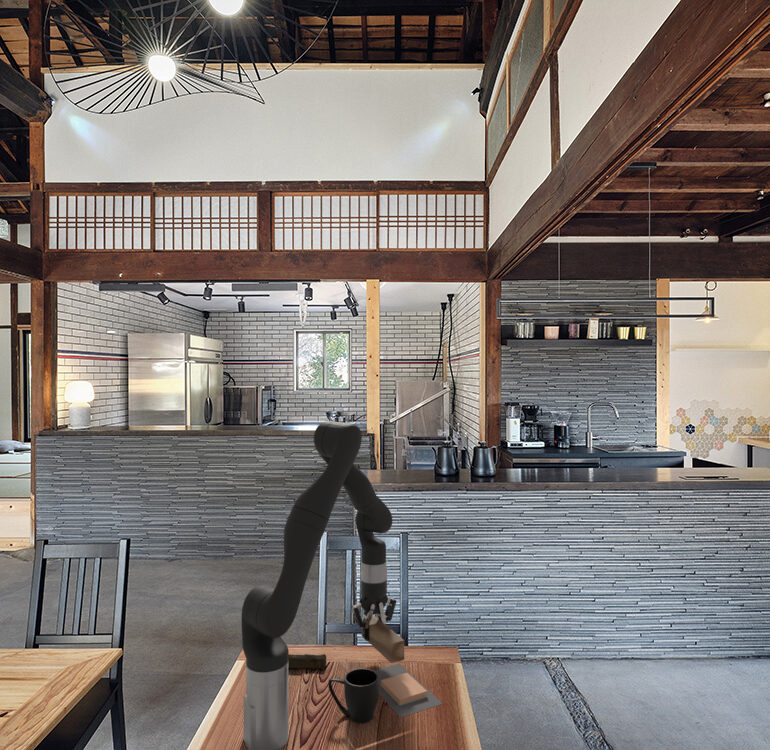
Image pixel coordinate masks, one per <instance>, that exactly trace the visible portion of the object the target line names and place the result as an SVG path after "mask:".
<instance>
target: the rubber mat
mask: <svg viewBox="0 0 770 750" xmlns="http://www.w3.org/2000/svg"><path fill="white" fill-rule="evenodd" d="M373 671H375V672H376V673H377V674H378V676H379V693H378V696H380V697H381V698H382V699H383V700H384V701H385V702H386V703H387V705H388V706H389V707H390V708H391V709H392V710H393V711H394V712H395V713H396V715H397V716H399V717H400V718H403V717H406V716H409V715H412V714H416V713H418V712H422V711H426V710H428V709H431V708H434V707H437V706H440V705H443V704H444V703H443V702H442V701H440V700H439V698H438V697H436V696H435V695H434V693H432V692H431V691H430V690H429V689H428V688H426V687H425V685H424V684H422V683H421V682H420V681H419V680H418V679H417V678H416V677H415V676H414V675H412V673H410V672H409V671H408V670H407V669H406V668H405V667H404V666H403V665H402V664H401V663H396V664H392V665H389V666H385V667H382V668H378V669H373ZM404 673H408V674H409V675H410V676H412V677H413V678H414V679H415V680H416V681H417V682H418V683H419V684H420V685H421V686H422V687H423V688H424V689H426V690H427V698H424V699H421V700H418V701H415V702H412V703H408V704H405V705H402V706H399V705H398V704H397V703H396V702H395V701H394V700H393V699H392V698H391V697H390V696H389V694H388V693H387V692H386V691H385V690H384V689H383V688H382V687H381V680H383V679H387V678H390V677H394V676H397V675H401V674H404Z"/></svg>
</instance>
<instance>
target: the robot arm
mask: <svg viewBox="0 0 770 750" xmlns="http://www.w3.org/2000/svg"><path fill="white" fill-rule="evenodd" d="M362 438H363V435H362V430H361V428H360V427H359V426H358V425H356V424H353V423H347V422H339V421H335V420H334V421H333V420H329V421H328V420H327V421H326V420H325V421H322V422H320V423H319V424H318V425H317V427H316V429H315V431H314V433H313V444H314V448H315V449H316V451H317V453H318V454H319V456H320V458H321V459H323V461H324V462H325V464H326V465H327V466H326V467H325V469H324V470H323V472H322V474H320V476H319V477H318V478H316V479H315V480H314V482H313V483H311V484H310V485H309V486H308V487H306V488H305V490H304V491H303V492H301V494H300V495H299V496H298V497H297V498H296V499H295V501H294V503H293V506H292V508H291V510H290V512H289V514H288V517H287V520H286V522H285V525H284V528H283V565H282V569H281V573H280V575H279V578H278V581H277V583H276V585H275V588H274V587H272V586H268V585H264V584H263V585H257V586H255V587H253V588H252V589H251V590H250V591H249V592H248V593H247V595H245V598H244V600H243V603H242V607H241V638H242V639H241V640H242V641H241V642H242V651H243V653H244V656H245V658H246V659H245V660H246V661H245V663H246V664H245V665H246V668H245V669H246V671H245V676H246V680H245V681H246V682H245V683H246V685H245V686H246V687H245V690H246V691H245V695H244V696H243V735H242V736H243V741H244V743H245V747H246V749H247V750H281V749H282V748H284V747H285V745H286V744H287V742H288V740H289V727H290V726H289V684H290V681H289V673H290V672H289V669H290V668H289V654H290V653H289V647H288V645H287V643H286V642H285V641H284V639H283V638H282V636H284V635H285V634H286V633H287V632H288V631H289V630H290V629H291V627H292V625H293V623H294V621H295V619H296V617H297V613H298V609H299V608H300V603H301V600H302V597H303V593H304V589H305V586H306V582H307V579H308V576H309V573H310V570H311V567H312V564H313V561H314V559H315V555H316V553H317V550H318V549H319V544H320V543H321V540H322V538H323V536H324V533H325V531H326V528H327V525H328V523H329V520H330V517H331V514H332V512H333V509H334V507H335V504H336V503H337V499H338V496H339V494H340V492H341V489H342V487H343V489H344V490H345V491H346V494H347V496H348V498H349V500H350V502H351V504H352V507H353V508H354V509H355V510H356V511H357V512H356V515H355V520H354V522H355V528H356V531H357V535H358V539H359V542H360V546H361V565H360V600H359V603H356V604H351V606H350V610H351V612H352V615H353V619H354V621H355V624H356V625H357V626H358V627H359V628H361V637H362V638H363V640H365V642H368V641H369V628H368V627H369V624H370V620H371V619H372V616H373V615H374V616H375V615H377V618H378V619H379V620H380V621H381V622H383V623H384V624H385V625H386V624H387V622H391V621H392V619H393V615H394V611H395V609H396V605H397V600H396V599H395V598H393V597H392V596H390V597H388V595H387V593H388V567H387V545H386V542H385V541H384V540H382V539H381V538H377V537H376V536H375V534H376V533H377V534H386V533H387V532H389V531H390V529H391V528H392V527H393V515H392V512H391V510H390V508H389V507H388V506H387V504H385V502H383V501H382V499H381V498H380V497H379V496H378V495H377V493H376V492H375V489H374V487H373V484H372V483H371V481H370V479H369V478H368V477H367V475H365V473H364V472H363V471H362V470H361V469H360V468H359V467H358V466H357V465H356V464H355V460H356V459H357V457H358V455H359V452H360V449H361V446H362V442H363V441H362V440H363V439H362ZM374 533H375V534H374ZM385 607H386V608H385ZM361 609H362V610H363V611H362V610H361ZM361 611H362V616H361ZM362 618H363V619H362Z"/></svg>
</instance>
